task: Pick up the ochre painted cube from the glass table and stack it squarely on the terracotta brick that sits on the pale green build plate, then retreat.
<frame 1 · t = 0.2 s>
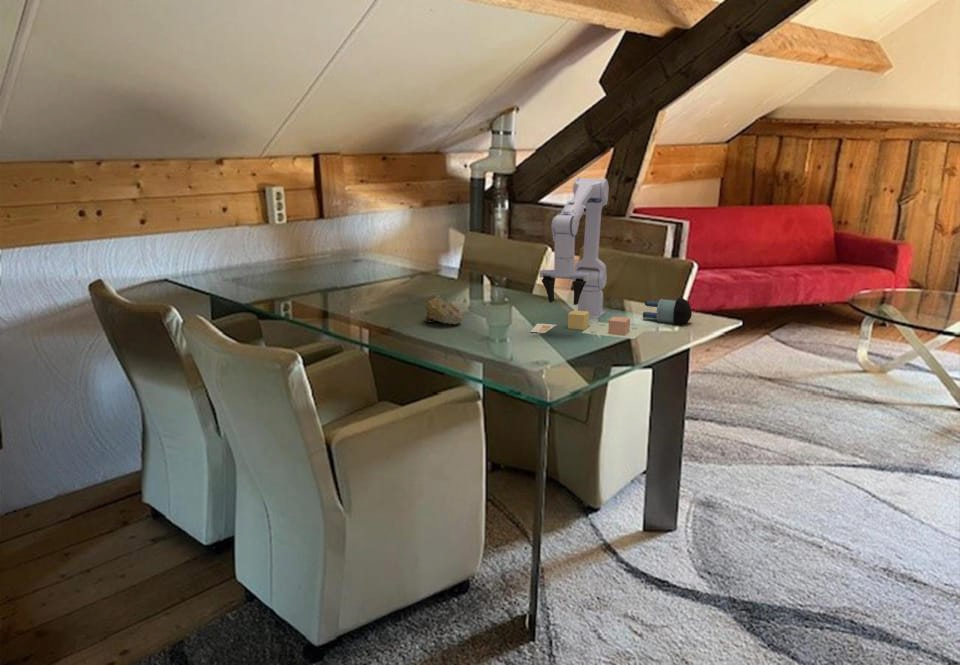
hand: (563, 302, 215), 10 cm above the table, fingers open, 7 cm apart
instruction card: (544, 328, 225), on the table
build plate: (614, 331, 221), on the table
terracotta brick: (618, 332, 218), resting on build plate
ochre brick: (578, 328, 225), on the table
seashell: (443, 323, 234), on the table
toy: (665, 323, 230), on the table
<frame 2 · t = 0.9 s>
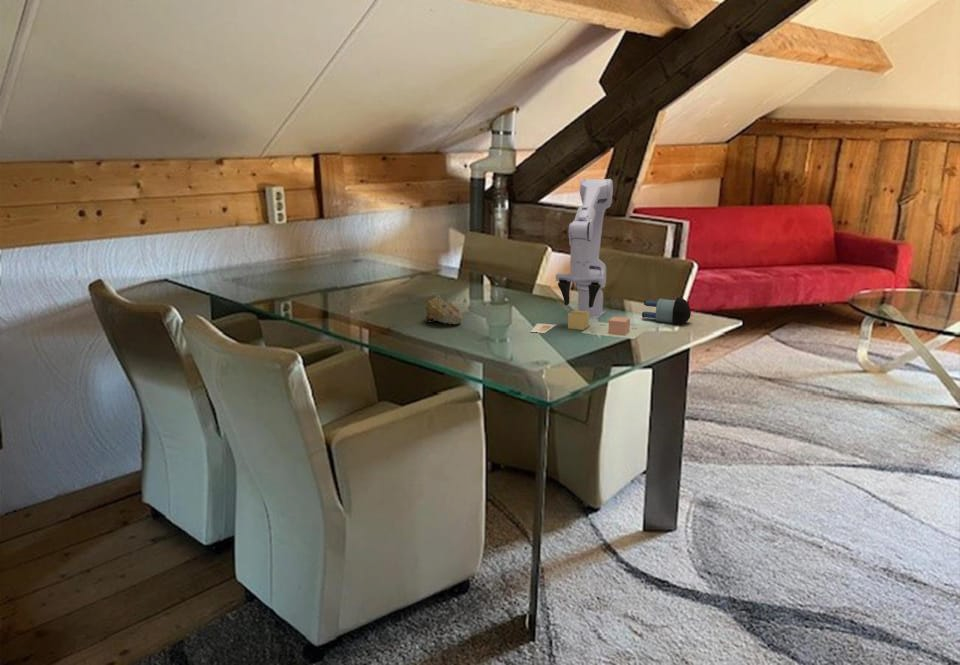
hand: (578, 305, 223), 7 cm above the table, fingers open, 7 cm apart
nothing on the table moved.
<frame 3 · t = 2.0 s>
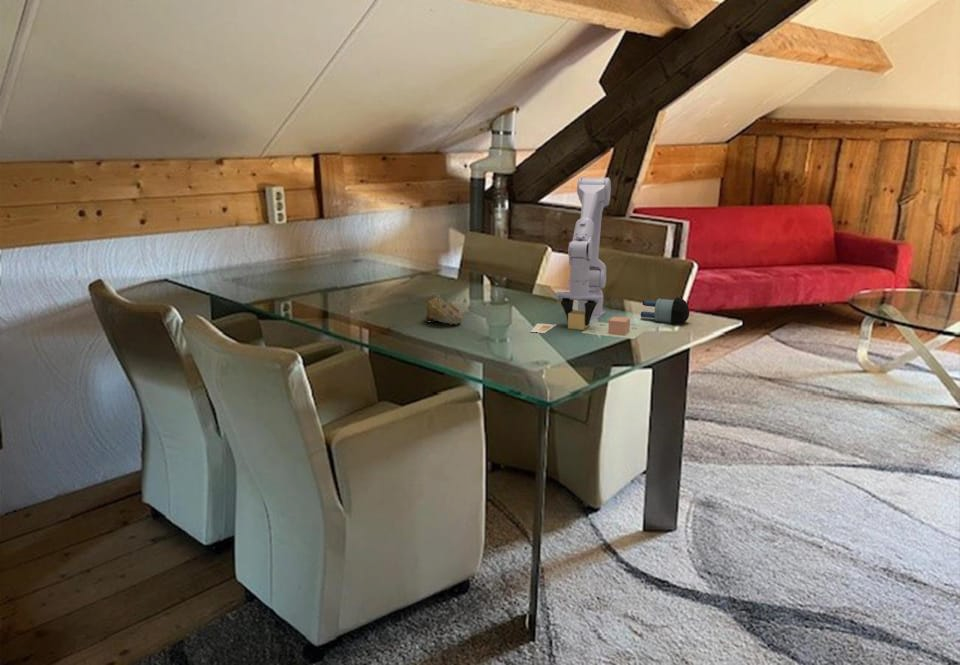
hand: (578, 323, 225), 1 cm above the table, fingers closed on ochre brick, 5 cm apart
ochre brick: (578, 328, 225), on the table, touching gripper
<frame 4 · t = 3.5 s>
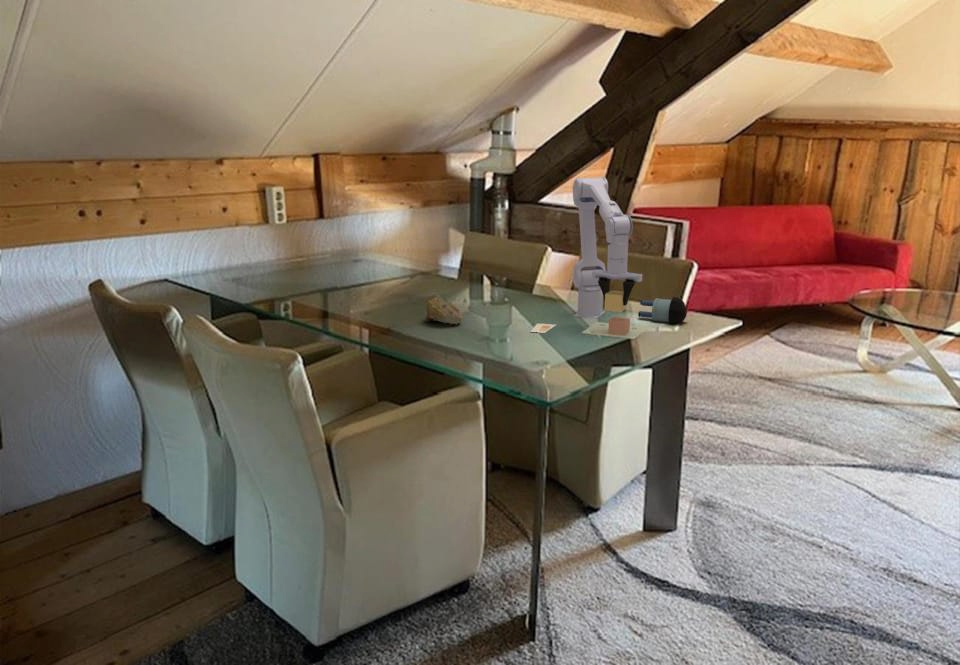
hand: (615, 303, 217), 9 cm above the table, fingers closed on ochre brick, 5 cm apart
ochre brick: (615, 309, 217), point 7 cm above the table, touching gripper
when the fingers open (7 cm above the table, at t = 4.5 s): ochre brick stays where it is, resting on terracotta brick.
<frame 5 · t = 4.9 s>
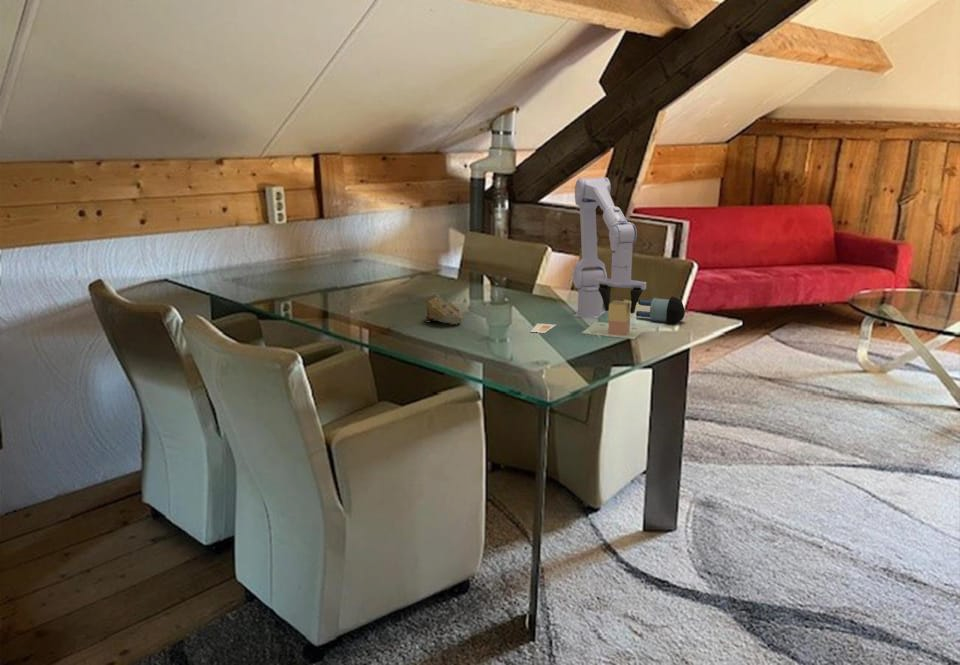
hand: (619, 311, 217), 7 cm above the table, fingers open, 7 cm apart
terracotta brick: (618, 332, 218), resting on build plate, touching ochre brick
ochre brick: (619, 319, 217), point 4 cm above the table, touching terracotta brick
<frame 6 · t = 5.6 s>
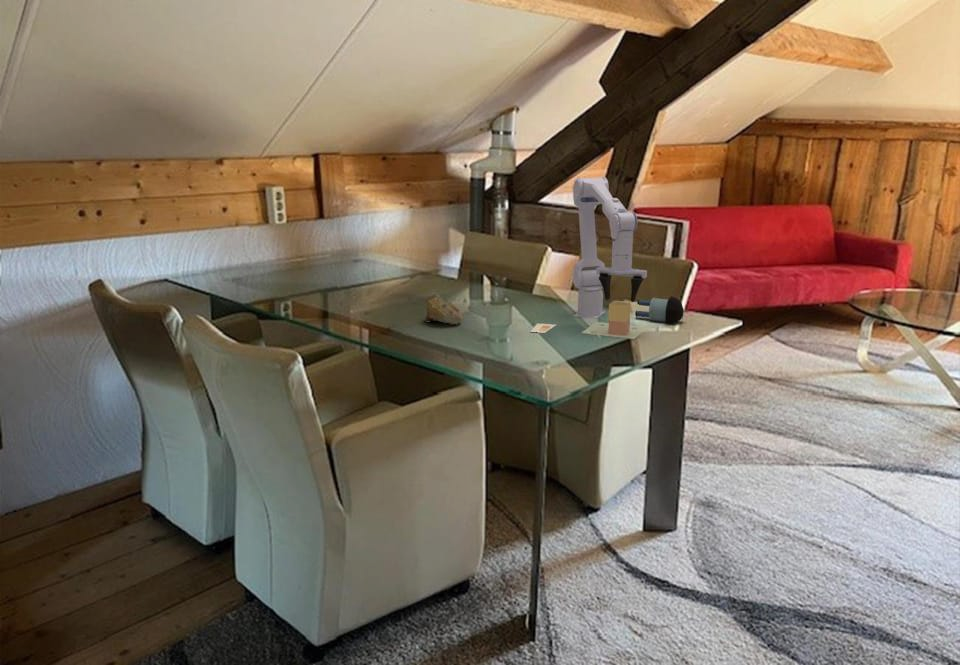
hand: (620, 300, 216), 10 cm above the table, fingers open, 7 cm apart
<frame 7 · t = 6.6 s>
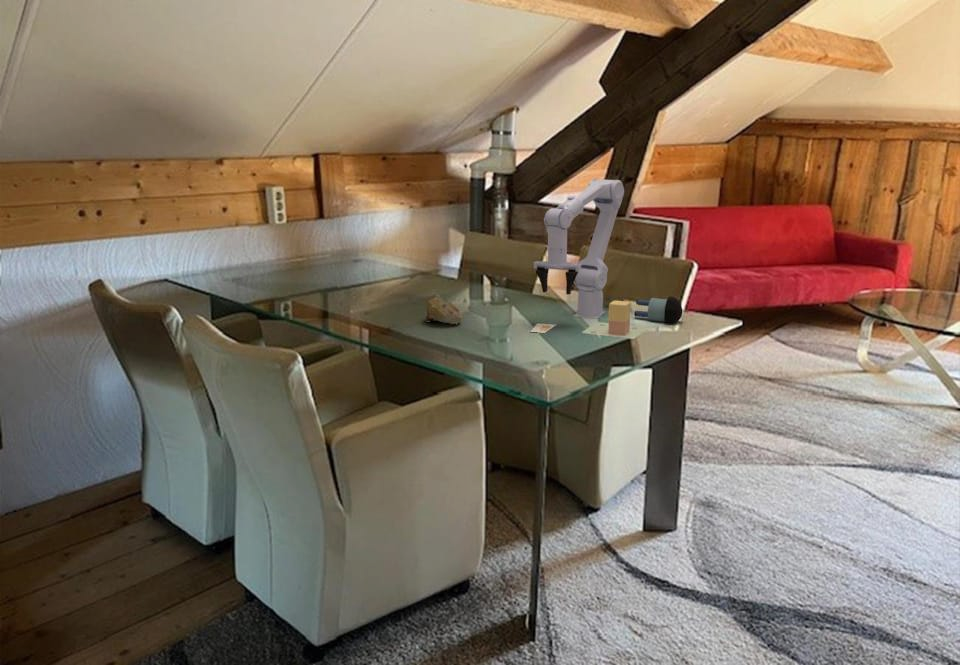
hand: (556, 292, 225), 10 cm above the table, fingers open, 7 cm apart
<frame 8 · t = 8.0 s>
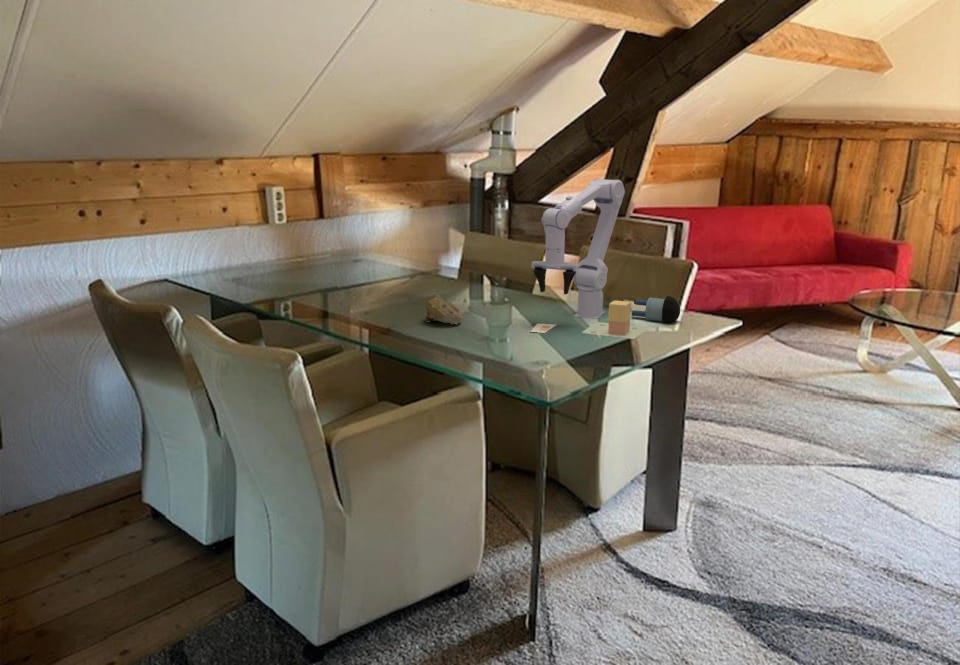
hand: (554, 292, 226), 10 cm above the table, fingers open, 7 cm apart
at the end: ochre brick 0.2 cm off-centre on the terracotta brick, point 4.0 cm above the terracotta brick's base; ochre brick tilted 0°; terracotta brick moved 0.0 cm from its start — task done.
